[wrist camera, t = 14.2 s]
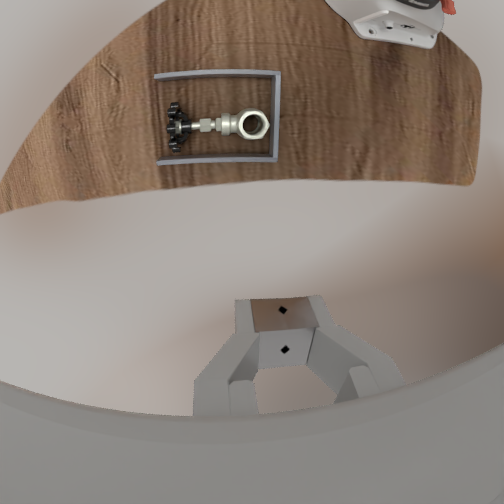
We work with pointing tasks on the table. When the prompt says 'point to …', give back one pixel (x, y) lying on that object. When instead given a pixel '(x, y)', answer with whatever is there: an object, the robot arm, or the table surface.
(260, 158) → the valve dock
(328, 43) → the table surface
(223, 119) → the valve
